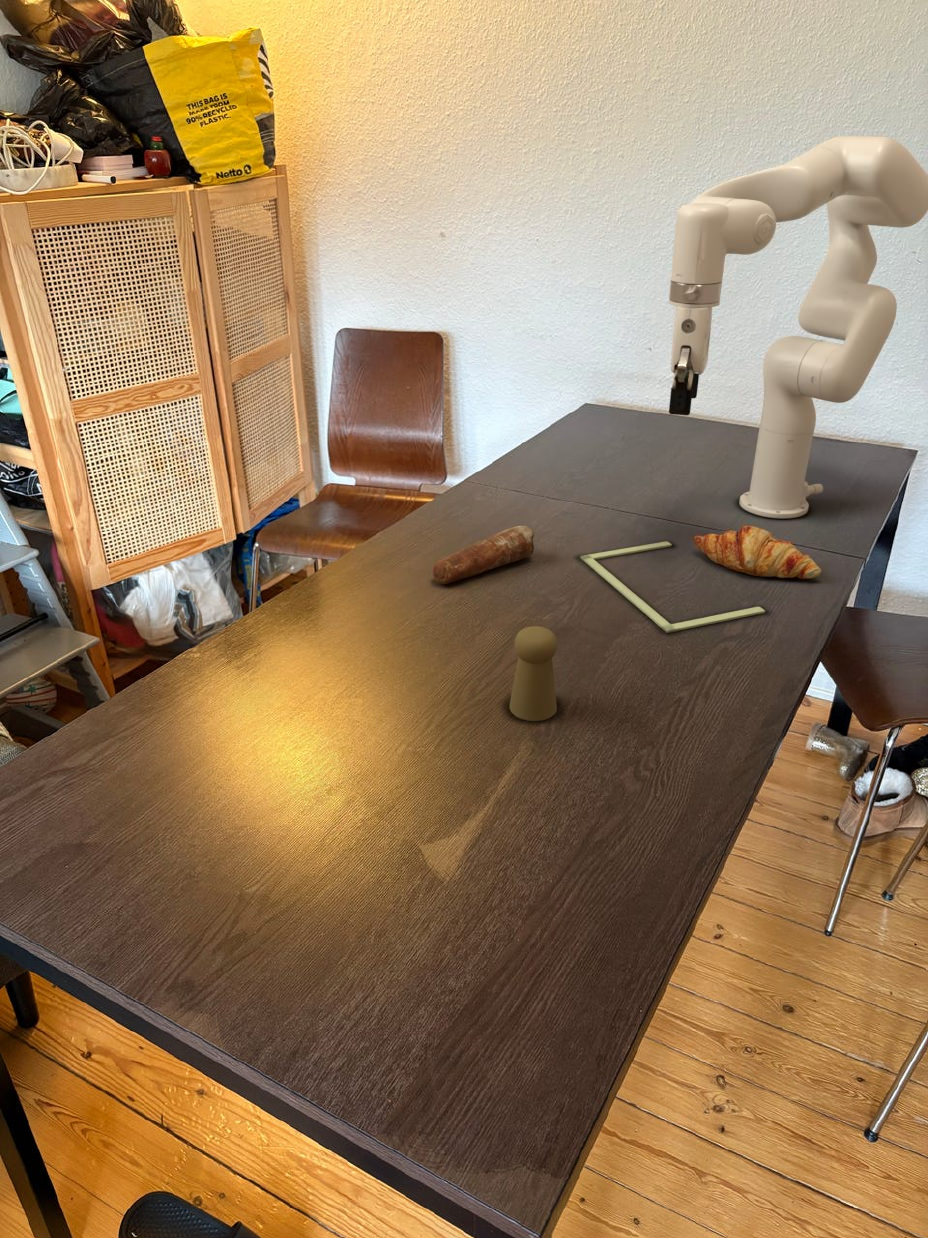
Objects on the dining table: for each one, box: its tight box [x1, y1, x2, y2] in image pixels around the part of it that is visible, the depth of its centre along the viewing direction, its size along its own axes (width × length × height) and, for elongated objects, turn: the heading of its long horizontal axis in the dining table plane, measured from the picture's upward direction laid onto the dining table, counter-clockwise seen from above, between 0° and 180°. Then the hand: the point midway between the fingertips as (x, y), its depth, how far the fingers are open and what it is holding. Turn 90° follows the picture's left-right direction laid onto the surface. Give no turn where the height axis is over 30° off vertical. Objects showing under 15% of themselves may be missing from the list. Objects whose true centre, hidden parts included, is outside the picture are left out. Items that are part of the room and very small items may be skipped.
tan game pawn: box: [508, 625, 558, 722], centre depth 112 cm, size 6×6×11 cm
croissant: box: [693, 524, 822, 580], centre depth 149 cm, size 21×10×8 cm
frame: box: [579, 540, 766, 634], centre depth 145 cm, size 17×28×1 cm, turn 21°
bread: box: [432, 524, 535, 585], centre depth 149 cm, size 6×19×6 cm, turn 126°
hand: (682, 405), depth 145 cm, fingers open, 9 cm apart
